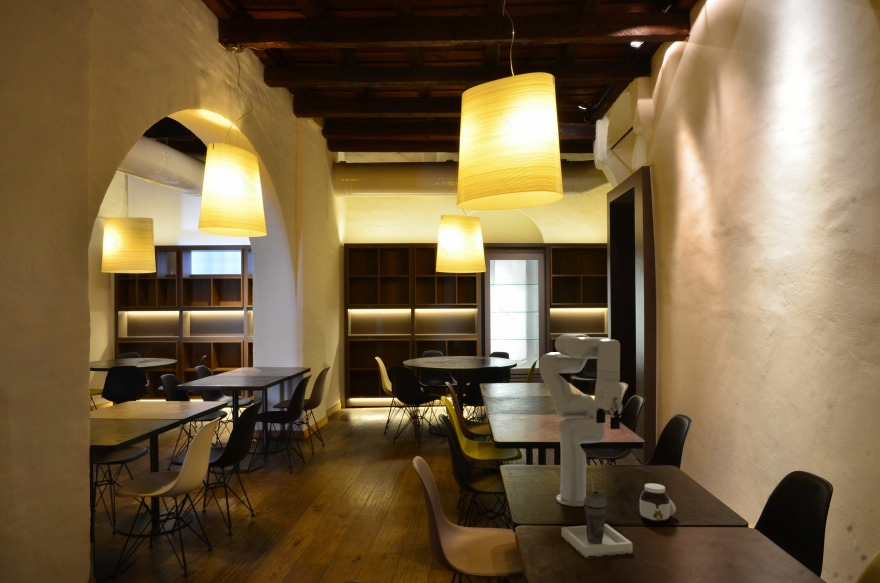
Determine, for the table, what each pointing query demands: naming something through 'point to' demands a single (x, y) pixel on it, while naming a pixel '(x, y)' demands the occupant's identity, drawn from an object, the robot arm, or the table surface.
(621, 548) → the walled tray
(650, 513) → the spread jar
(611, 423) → the robot arm
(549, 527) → the table surface
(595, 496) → the beverage cup
